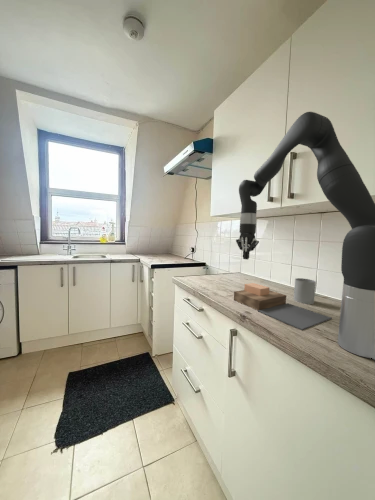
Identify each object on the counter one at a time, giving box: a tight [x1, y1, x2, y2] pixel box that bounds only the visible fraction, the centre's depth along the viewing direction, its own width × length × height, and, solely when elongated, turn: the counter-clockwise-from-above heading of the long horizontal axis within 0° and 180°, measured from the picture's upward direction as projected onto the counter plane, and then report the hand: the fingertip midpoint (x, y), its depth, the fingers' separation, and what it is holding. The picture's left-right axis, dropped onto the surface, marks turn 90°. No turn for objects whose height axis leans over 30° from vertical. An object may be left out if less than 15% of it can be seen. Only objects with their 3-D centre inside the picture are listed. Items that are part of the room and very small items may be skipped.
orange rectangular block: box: [243, 282, 270, 296], centre depth 91 cm, size 9×6×3 cm, turn 31°
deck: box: [233, 289, 287, 311], centre depth 90 cm, size 14×18×4 cm
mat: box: [257, 302, 333, 331], centre depth 76 cm, size 17×20×1 cm
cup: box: [293, 277, 317, 305], centre depth 94 cm, size 8×8×10 cm
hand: (245, 259), depth 96 cm, fingers closed
